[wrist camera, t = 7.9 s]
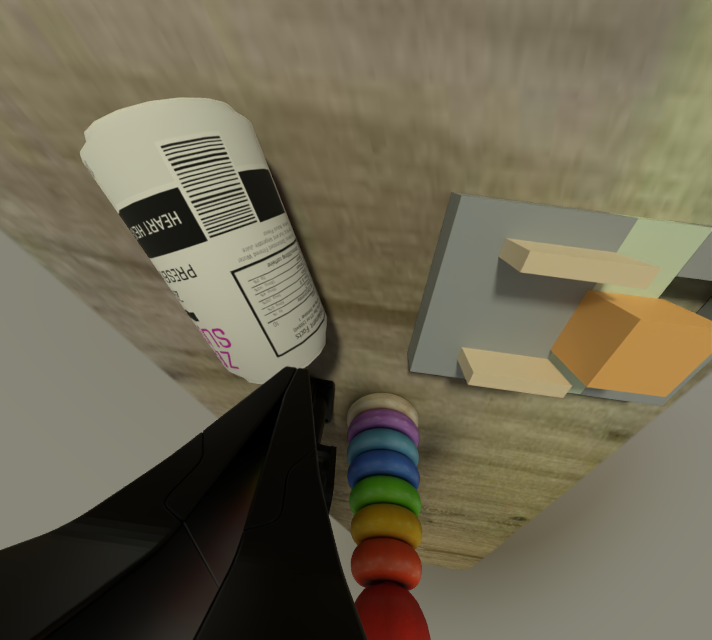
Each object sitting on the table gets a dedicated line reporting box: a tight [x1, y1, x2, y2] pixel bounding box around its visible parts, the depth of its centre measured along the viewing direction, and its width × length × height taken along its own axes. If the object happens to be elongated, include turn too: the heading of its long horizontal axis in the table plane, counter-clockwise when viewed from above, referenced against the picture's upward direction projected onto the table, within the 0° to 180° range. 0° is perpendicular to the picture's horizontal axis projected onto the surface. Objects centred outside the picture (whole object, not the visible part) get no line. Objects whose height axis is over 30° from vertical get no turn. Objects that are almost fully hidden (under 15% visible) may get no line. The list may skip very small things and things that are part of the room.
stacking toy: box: [347, 393, 431, 640], centre depth 21 cm, size 8×8×19 cm
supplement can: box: [80, 98, 327, 384], centre depth 17 cm, size 8×8×15 cm
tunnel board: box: [407, 192, 712, 406], centre depth 18 cm, size 14×22×6 cm, turn 84°
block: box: [551, 290, 712, 397], centre depth 17 cm, size 5×5×4 cm
